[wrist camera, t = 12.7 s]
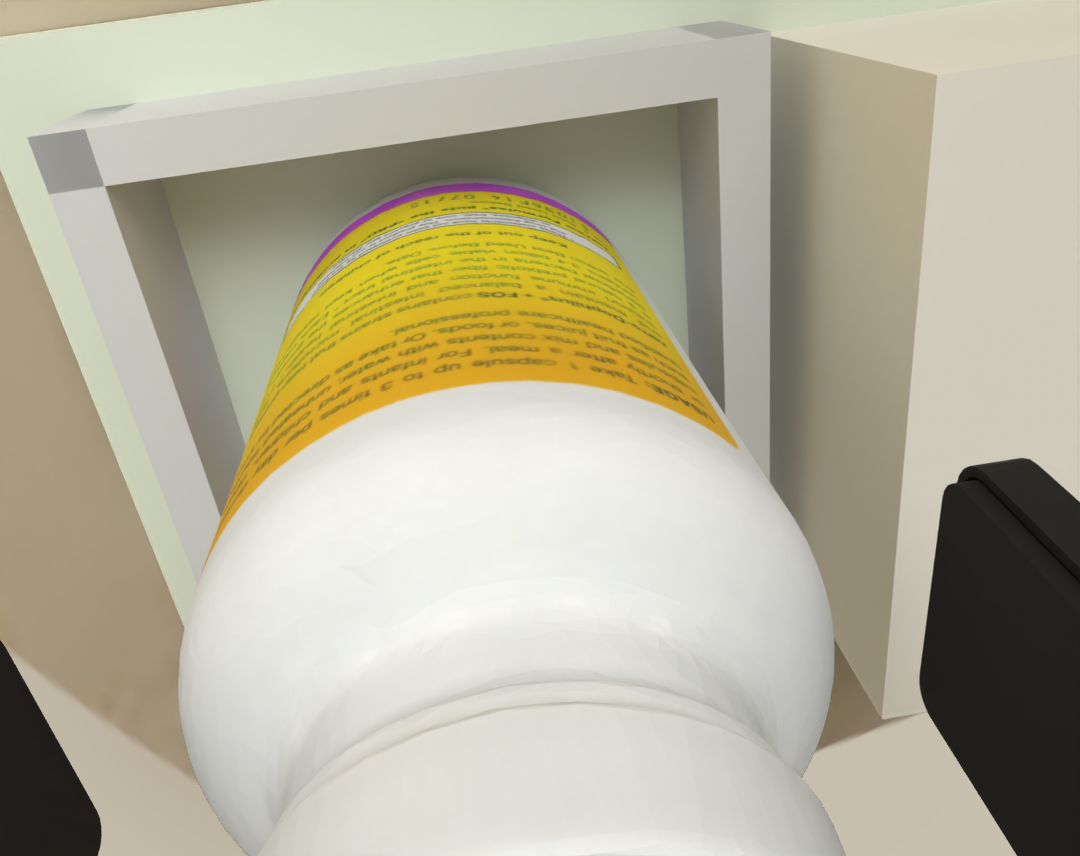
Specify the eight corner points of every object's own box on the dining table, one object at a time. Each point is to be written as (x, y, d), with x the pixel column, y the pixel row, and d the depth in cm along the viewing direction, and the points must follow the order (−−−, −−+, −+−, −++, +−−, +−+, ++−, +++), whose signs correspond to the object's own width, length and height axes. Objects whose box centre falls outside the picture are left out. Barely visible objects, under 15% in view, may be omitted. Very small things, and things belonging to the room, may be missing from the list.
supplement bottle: (220, 278, 16) (-254, 1032, 5) (547, 97, 15) (894, 498, 4) (411, 540, 19) (393, 1373, 8) (691, 402, 18) (1114, 1108, 7)
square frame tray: (1220, -132, 16) (1765, -193, 10) (1095, 476, 22) (1372, 694, 16) (-9, 38, 15) (-338, 99, 9) (213, 621, 22) (117, 915, 15)
